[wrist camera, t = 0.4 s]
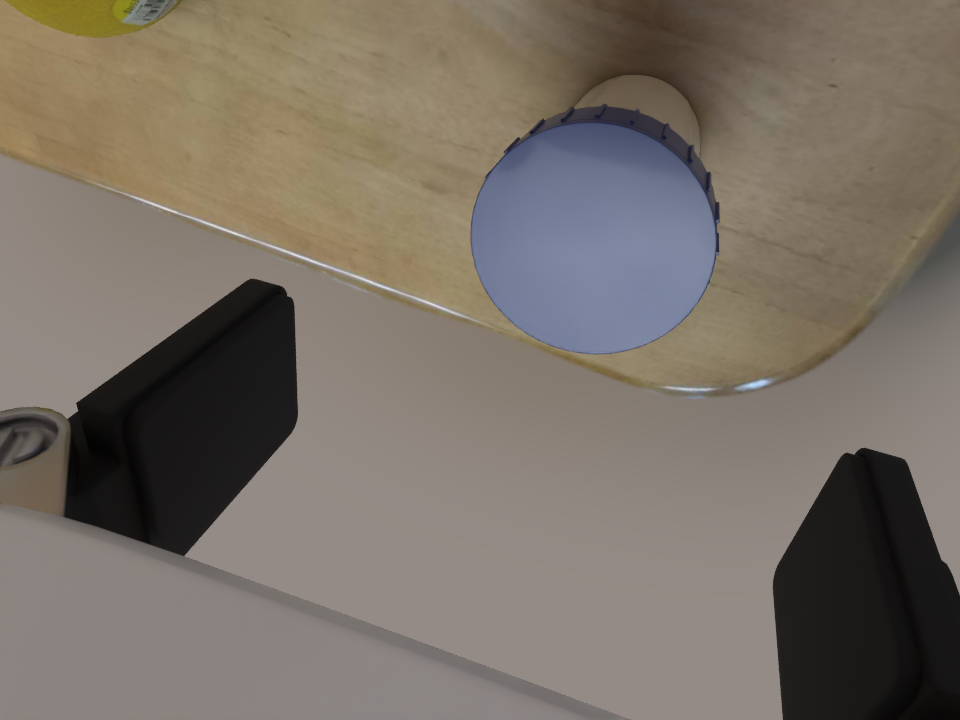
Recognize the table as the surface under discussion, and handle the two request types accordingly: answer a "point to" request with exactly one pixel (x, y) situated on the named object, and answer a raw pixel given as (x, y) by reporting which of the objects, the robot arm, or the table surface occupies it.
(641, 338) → the jar lid
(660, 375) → the table surface
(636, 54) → the table surface
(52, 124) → the table surface
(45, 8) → the lemon
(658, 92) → the cream canister
